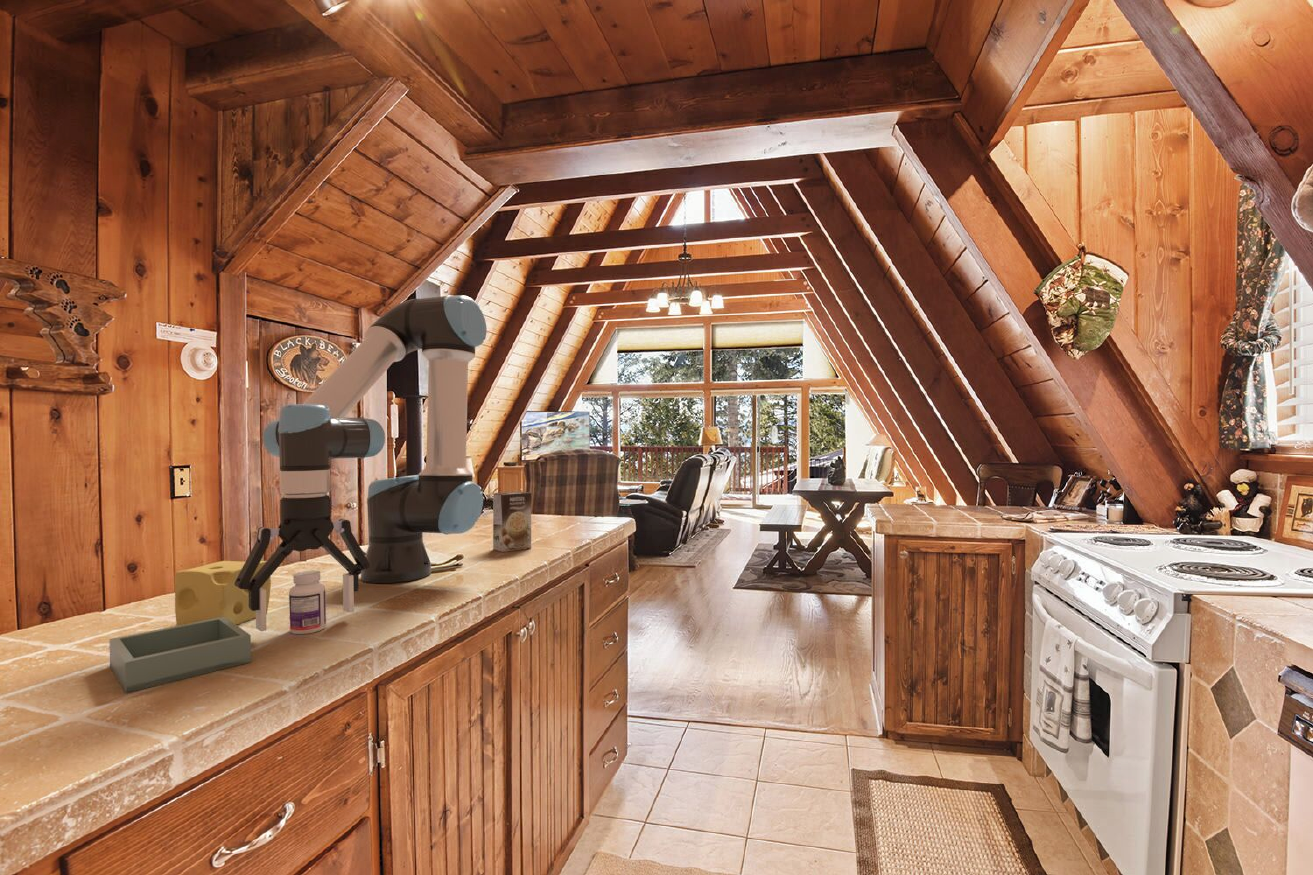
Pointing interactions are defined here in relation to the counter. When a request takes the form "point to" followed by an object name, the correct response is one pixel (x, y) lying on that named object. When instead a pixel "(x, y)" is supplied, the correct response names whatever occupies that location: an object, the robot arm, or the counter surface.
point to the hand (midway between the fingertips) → (306, 619)
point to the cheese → (214, 593)
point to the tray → (178, 653)
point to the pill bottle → (307, 603)
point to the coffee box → (511, 521)
